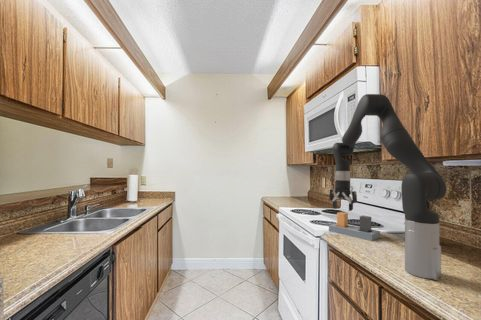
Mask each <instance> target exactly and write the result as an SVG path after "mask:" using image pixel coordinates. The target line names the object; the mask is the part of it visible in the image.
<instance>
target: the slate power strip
mask: <svg viewBox="0 0 481 320" xmlns="http://www.w3.org/2000/svg"><path fill="white" fill-rule="evenodd" d="M328 231H329V232H332V233H336V234H340V235H345V236H348V237H353V238H358V239H362V240H367V241H370V242H373V241H375V240H377V239H380V238H381V231H380V230H376V229H372V216H370V215H369V216H367V215H360V216H359V226H357V225H350V224H348V227H346V228H344V227H339V226H337V222H336V223H333V224H329V225H328Z"/></svg>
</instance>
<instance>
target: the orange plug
mask: <svg viewBox="0 0 481 320" xmlns="http://www.w3.org/2000/svg"><path fill="white" fill-rule="evenodd" d="M336 223H337V226H339V227H344V228H346V227H348V225H349V213H348V212H344V211H343V212H342V211H340V212H337V213H336Z"/></svg>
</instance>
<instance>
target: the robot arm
mask: <svg viewBox="0 0 481 320" xmlns="http://www.w3.org/2000/svg"><path fill="white" fill-rule="evenodd" d="M366 116H370V117H371V116H377V118H379V119H380V121H381V123H382V127H381V131H380V134H379V135H380V136H379V137H380V140H381V143H382V145H383V146H384V148H385V150H386V152H388V154H389V155H391V157H393V158H394V159H395V160H397V161H398V162H400V163H401V164H403V166H405V167H406V168H407V169H408V170H409V171H410V172H408V173H406V174H405V175H404V176H403V178H402V180H401V202H402V203H401V205H402V211H403V213H404V223H405V224H404V270H405V272H407V273H408V274H410V275H413V276H414V277H415V276H416V277H419V278H423V279H429V280H435V281H437V280H438V279H439V278H440V277H441V276H442V246H441V245H440V215H439V214H438V213H437V212H435V211H433V210H430V209H429V208H428V204H427V201H439V200H441V199H443V198H444V197H445V195H446V194H447V185H446V182H445V180H444V178H443V176H442V175H441V173H439V172H438V171H437V170H436V168H435V167H434V166H433V165H432V163H430V162H429V160H428V159H427V158H426V157H425V155H424V153H423V152H422V151H421V150H420V148H419V147H418V145H417V144H416V142H415V141H414V139H413V137H412V135H411V134H410V133H409V132H408V130H407V128H405V126H404V124H403V123H402V121H401V119H400V118H399V116H398V115H397V112H395V109H394V107H393V105H392V103H391V100H390V99H389V97H388V96H387V95H384V94H382V93H380V94H379V93H378V94H377V93H375V94H374V93H367V94H366V93H365V94H363V95H362V96H361V98H360V99H359V101H358V103H357V105H356V107H355V110H354V113H353V115H352V118H351V121H350V124H349V125H348V127H347V130H345V132H344V134H343V135H342V138H341V142H335V143H334V144H333V145H332V154H333V158H334V161H335V173H334V174H335V175H334V176H335V177H334V181H335V182H334V183H335V185H334V187H335V189H333V188H332V189H331V188H330V189H329V198H328V200H330V201H332V208H333V209H337V208H338V207H337V205H338V200H339V199H344V200H346V201H347V202H348V211H349V212H352V211H353V210H354V204H355V203H356V204H357V203H358V199H357V191H356V190H351V168H350V167H351V165H350V161H349V160H348V159H344V158H343V157H342V156H345V157H346V156H347V157H348V156H351V155H353V153H354V151H355V150H354V149H355V146H356V143H357V141H358V140H360V138H361V137H362V134H363V125H362V121H363V120H364V119H365V117H366Z"/></svg>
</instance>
